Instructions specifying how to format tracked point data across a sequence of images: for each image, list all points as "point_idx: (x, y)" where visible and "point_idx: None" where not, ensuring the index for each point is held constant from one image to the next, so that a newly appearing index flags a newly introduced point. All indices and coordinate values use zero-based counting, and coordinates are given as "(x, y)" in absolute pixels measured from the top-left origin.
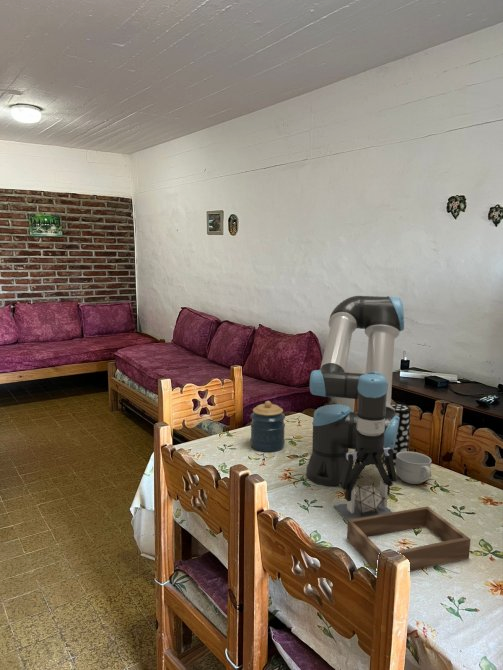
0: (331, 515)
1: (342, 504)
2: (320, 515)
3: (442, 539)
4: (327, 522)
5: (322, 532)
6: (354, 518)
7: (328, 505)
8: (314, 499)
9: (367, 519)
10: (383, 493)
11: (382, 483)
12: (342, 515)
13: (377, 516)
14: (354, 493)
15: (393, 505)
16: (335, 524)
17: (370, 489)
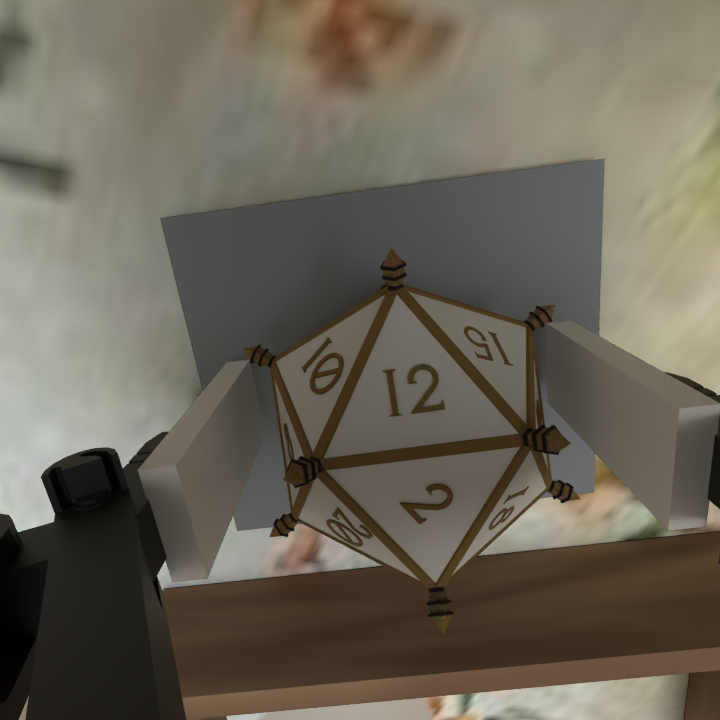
0: (121, 332)
1: (241, 211)
2: (33, 317)
3: (692, 673)
4: (74, 415)
5: (24, 514)
6: (271, 433)
7: (126, 169)
8: (6, 20)
9: (263, 711)
10: (605, 437)
11: (677, 460)
12: (199, 365)
13: (356, 693)
14: (213, 550)
15: (682, 269)
16: (127, 446)
17: (438, 530)
